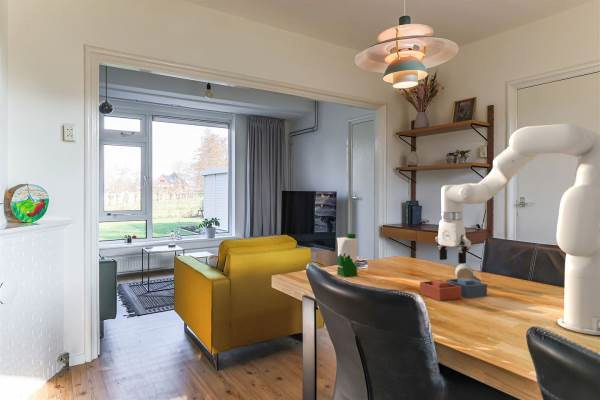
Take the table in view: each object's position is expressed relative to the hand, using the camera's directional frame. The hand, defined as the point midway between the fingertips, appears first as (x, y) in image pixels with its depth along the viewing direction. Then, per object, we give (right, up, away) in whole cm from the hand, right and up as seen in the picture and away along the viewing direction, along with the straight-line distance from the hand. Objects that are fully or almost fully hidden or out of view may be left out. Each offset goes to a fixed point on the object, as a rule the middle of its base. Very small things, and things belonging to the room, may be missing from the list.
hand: (452, 261), depth 140 cm
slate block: (+8, -13, +7) cm, 17 cm away
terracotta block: (-4, -13, +2) cm, 14 cm away
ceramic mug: (+17, -14, +25) cm, 34 cm away
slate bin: (+8, -14, +7) cm, 17 cm away
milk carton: (-36, -13, +38) cm, 54 cm away
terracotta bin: (-4, -14, +2) cm, 14 cm away
